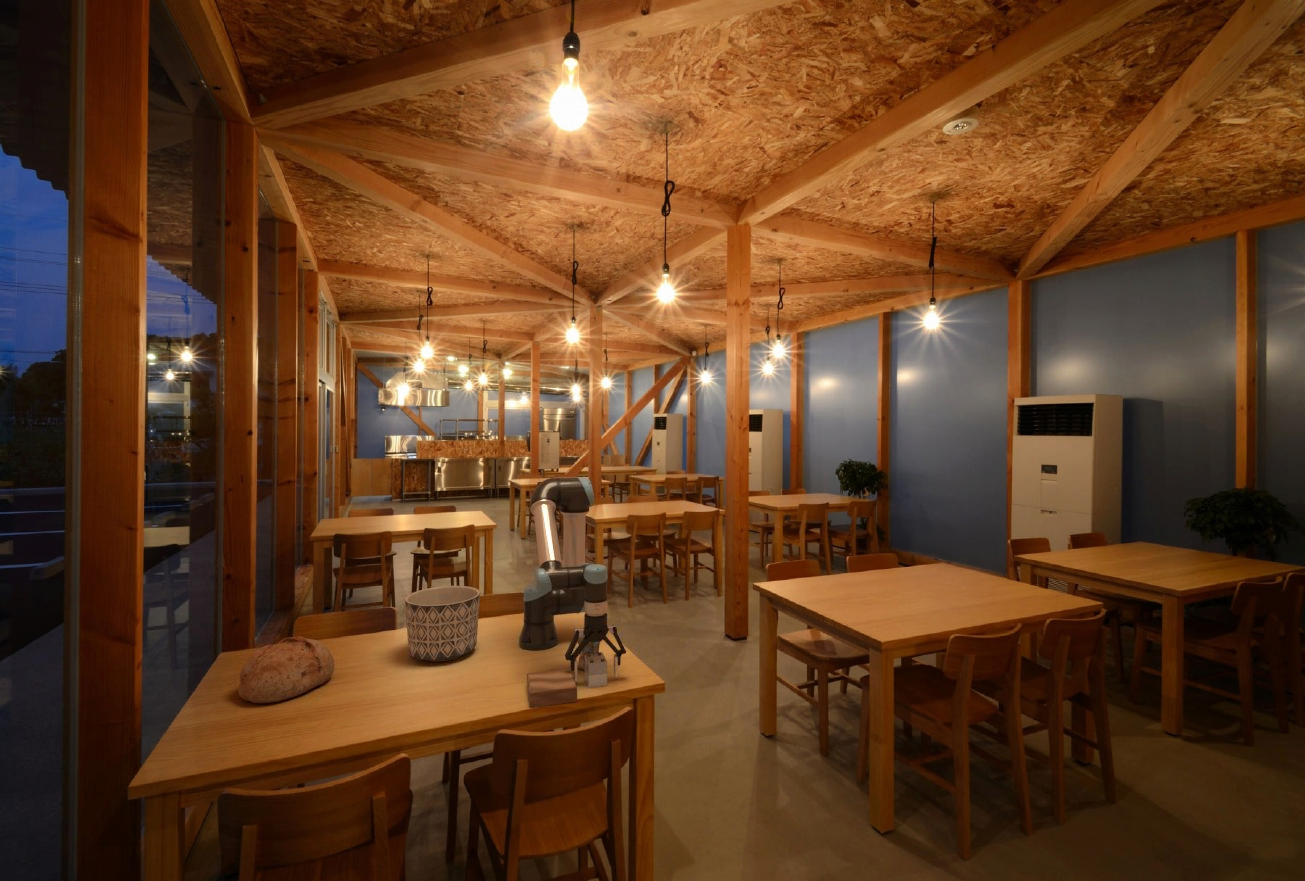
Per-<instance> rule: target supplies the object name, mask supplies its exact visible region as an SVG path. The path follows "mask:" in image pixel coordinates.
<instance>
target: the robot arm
mask: <svg viewBox="0 0 1305 881" xmlns="http://www.w3.org/2000/svg"><path fill="white" fill-rule="evenodd" d="M594 505H595V493H594V489H593V485H592V482H591V480H590V479H589V478H587V477H582V476H581V477H578V476H576V477H575V476H573V477H571V476H570V477H551V478H550V477H549V478H547V479H544V480H542V481H541V482H540V483H539V484H538V485H537V486H536V487H535V488H534V490H533V492H532V493H531V496H530V501H529V510H530V513H531V514H532V515H533V518H534V527H535V536H536V545H537V556H538V562H539V568H538V569H535V572H534V582H533V583H530V584H528V585H527V586H526V587H525V588H524V590H523V598H522V600H523V626H522V629H521V632H520V635H519V637H518V638H519V639H518V645H519V647H520V648H522V649H524V650H529V651H540V650H541V651H542V650H548V649H551V648H554V647H555V646H557V645H558V644H559V634H558V631H557V627H556V624H555V616H560V615H571V614H580V613H584V616H583V617H584V618H583V620H584V621H583V622H584V626H583V629H578V628H577V627H576V628H575V629H574V631H573V632H574V633H573V637H572V638H571V640H570V643H569V646H568V648H567V649H566V652H565V654H564V658H565V660H566V661H570V664H569V665H570V666H569V669H570V670H571V672H573V678H574V681H575V683H576V682H578V666H577V663H578V660H577V658H579V656H580V653H581V652H582V650H583V649H584V648H585V646H586V645H587V644H588V643H589V642H592V643H593V642H600V643H601V642H602V641H604V642H605V643H606V645H608V647H609V648H610V649H611V650H612V651H613V652H614V653H613V675H614V677H615V678H618V677H619V675H618V668H619V667H620V666H621V661H622V660H621V659H622V655H625V654H626V653H627V650H626V648H625V647H624V645H623V641H622V640H621V638H620V636H619V634H618V628H617V626H616V625H615V624H612V625H611V626H608V614H607V612H608V569H607V567H606V566H605V565H603V564H598V563H597V564H591V563H589V562H586V516H587V515H588V514H589V512H590V508H592V507H594ZM557 508H559V512H560V514H562V516H563V554H562V555H563V556H562V557H563V558H562V557H561V549H560V544H559V543H560V542H559V537H558V530H557V523H556V516H555V511H556V510H557ZM562 560H563V562H562ZM608 633H611V634H612V635H613V637H614V639H615V640H616V643H617V645H618V647H619V648H620V649H618V648H617V647H616V645H615V644H614V643H613V642H612V641H611V640H610V639H609V637H608V636H607V635H608ZM581 634H584V635H585V637H584V638H583V640H582V642H581V643H580V644H579V645H578V646H577V644H578V642H577V641H578V639H579V637H580V636H581ZM576 646H577V647H576ZM575 647H576V648H575ZM618 666H619V667H618Z"/></svg>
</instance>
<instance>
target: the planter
mask: <svg viewBox="0 0 1305 881" xmlns="http://www.w3.org/2000/svg"><path fill="white" fill-rule="evenodd" d="M480 595H481V592H480V590H479V589H478V588H475V587H473V586H467V585H444V586H435V587H430V588H429V587H428V588H424V589H420V590H416V591H414V592H411V593H410V594H408V595H406V596H405V597H404V602H405V603H404V604H405V605H404V606H405V617H406V620H405V621H406V631H407V632H406V634H407V646H408V647H407V649H408V654H409V655H410V656H411V657H412V658H413V659H417V660H419V661H420V660H422V661H427V662H430V663H431V662H433V663H439V662H448V661H452V660H455V659H457V658H460V657H461V656H464V655H466V654H468V653H471V651H473V650H474V649H475V648H476V647H477V643H478V631H479V630H478V629H479V628H478V627H479V612H480V599H481V596H480Z"/></svg>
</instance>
